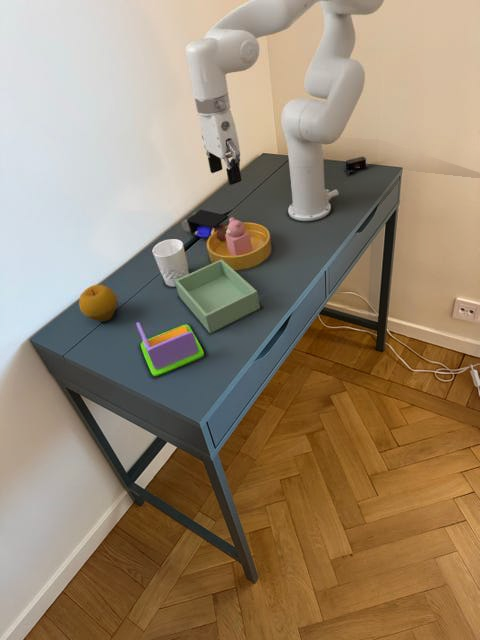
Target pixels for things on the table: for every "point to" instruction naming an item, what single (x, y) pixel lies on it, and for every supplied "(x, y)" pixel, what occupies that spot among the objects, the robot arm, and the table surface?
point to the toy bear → (237, 238)
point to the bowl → (258, 254)
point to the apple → (98, 303)
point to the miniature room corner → (170, 349)
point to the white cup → (171, 260)
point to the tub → (217, 295)
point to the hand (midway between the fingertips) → (225, 176)
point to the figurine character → (206, 224)
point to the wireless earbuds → (355, 164)
